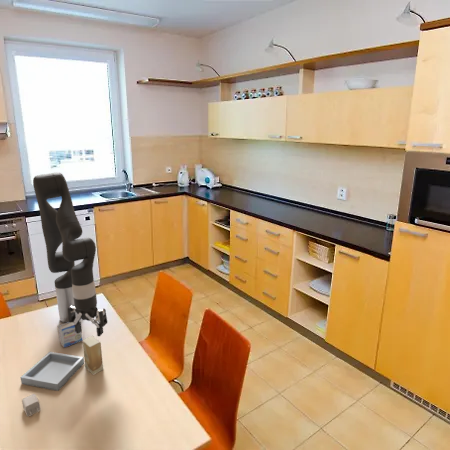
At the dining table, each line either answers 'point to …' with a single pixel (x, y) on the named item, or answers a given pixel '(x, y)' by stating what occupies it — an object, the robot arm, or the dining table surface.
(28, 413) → the usb wall charger
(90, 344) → the skincare box
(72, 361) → the tray
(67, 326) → the medicine box
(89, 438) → the dining table surface
